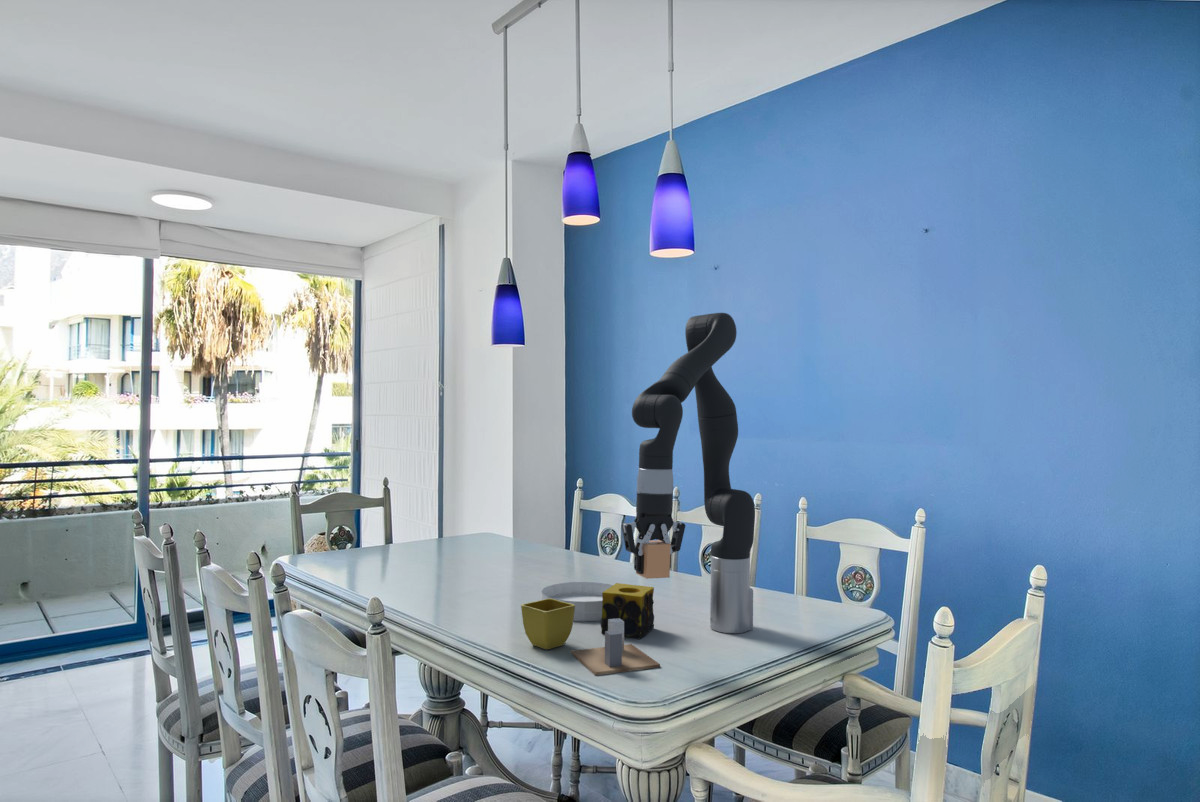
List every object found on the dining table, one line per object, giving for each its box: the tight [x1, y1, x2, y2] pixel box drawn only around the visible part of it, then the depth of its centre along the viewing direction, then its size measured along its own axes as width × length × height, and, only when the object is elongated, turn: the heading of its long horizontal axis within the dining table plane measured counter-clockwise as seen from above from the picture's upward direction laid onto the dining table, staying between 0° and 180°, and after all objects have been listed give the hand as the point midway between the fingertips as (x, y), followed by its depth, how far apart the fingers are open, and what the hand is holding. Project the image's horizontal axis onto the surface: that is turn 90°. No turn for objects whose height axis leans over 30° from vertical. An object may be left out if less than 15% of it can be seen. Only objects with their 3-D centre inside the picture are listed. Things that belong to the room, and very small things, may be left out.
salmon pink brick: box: [635, 539, 671, 580], centre depth 154 cm, size 5×5×7 cm
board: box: [570, 643, 661, 676], centre depth 154 cm, size 14×14×1 cm
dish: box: [540, 581, 614, 622], centre depth 194 cm, size 22×22×5 cm
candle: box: [600, 582, 655, 640], centre depth 175 cm, size 10×10×10 cm
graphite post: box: [604, 630, 622, 667], centre depth 149 cm, size 3×3×6 cm
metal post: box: [608, 618, 625, 652], centre depth 158 cm, size 3×3×6 cm
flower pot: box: [520, 598, 575, 650], centre depth 163 cm, size 9×9×9 cm
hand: (652, 572), depth 154 cm, fingers closed on salmon pink brick, 5 cm apart
